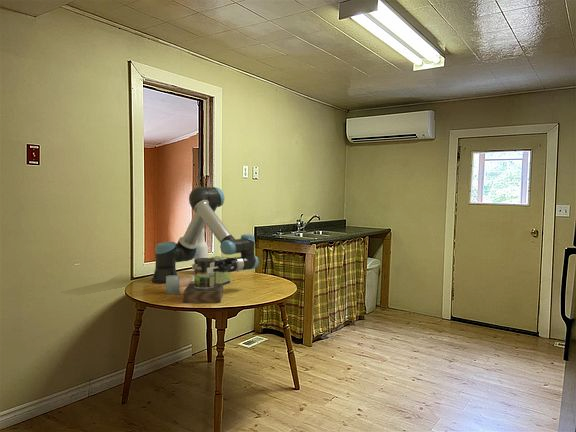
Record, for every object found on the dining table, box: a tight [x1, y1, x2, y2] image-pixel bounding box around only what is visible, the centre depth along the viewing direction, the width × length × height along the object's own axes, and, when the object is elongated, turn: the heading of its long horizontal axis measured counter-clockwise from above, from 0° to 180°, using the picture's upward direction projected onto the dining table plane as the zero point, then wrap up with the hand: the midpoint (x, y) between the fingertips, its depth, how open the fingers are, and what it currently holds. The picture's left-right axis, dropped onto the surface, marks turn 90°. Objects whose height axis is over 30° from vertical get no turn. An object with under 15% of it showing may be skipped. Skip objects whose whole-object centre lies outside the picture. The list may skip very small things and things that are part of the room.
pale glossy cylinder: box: [165, 274, 181, 295], centre depth 229 cm, size 7×7×9 cm
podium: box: [182, 282, 224, 304], centre depth 218 cm, size 18×18×6 cm
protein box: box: [210, 255, 231, 286], centre depth 252 cm, size 10×16×16 cm
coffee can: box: [193, 257, 215, 289], centre depth 218 cm, size 10×10×14 cm
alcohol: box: [193, 227, 209, 260], centre depth 285 cm, size 9×9×30 cm
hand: (199, 268), depth 216 cm, fingers open, 13 cm apart
